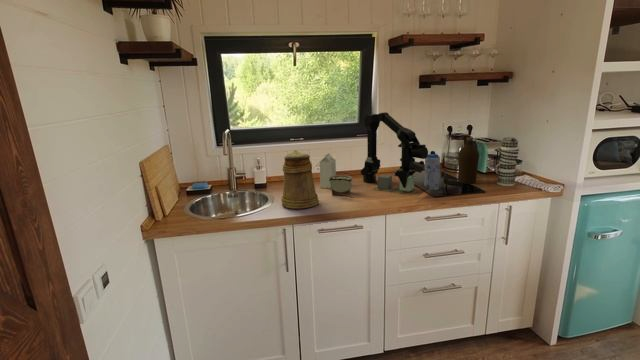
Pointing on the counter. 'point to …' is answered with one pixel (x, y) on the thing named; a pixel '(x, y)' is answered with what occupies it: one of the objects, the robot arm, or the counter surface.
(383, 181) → the gray block
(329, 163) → the milk carton
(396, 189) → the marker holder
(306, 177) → the tankard
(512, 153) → the decorative candle
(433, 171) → the aerosol can
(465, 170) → the olive oil
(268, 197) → the counter surface
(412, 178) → the sage cap
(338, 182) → the food container
